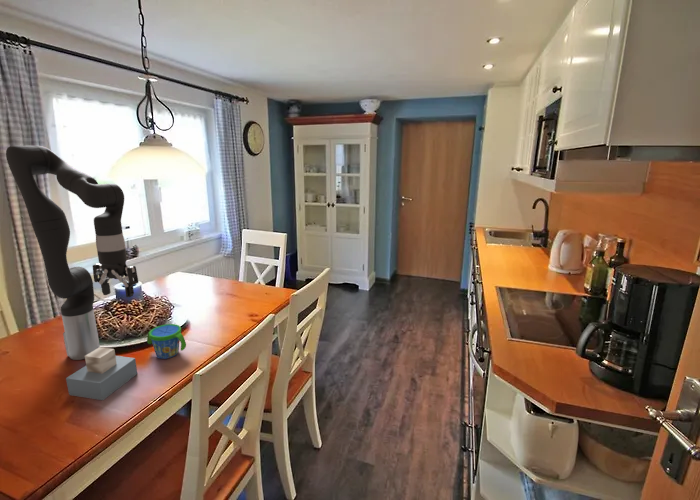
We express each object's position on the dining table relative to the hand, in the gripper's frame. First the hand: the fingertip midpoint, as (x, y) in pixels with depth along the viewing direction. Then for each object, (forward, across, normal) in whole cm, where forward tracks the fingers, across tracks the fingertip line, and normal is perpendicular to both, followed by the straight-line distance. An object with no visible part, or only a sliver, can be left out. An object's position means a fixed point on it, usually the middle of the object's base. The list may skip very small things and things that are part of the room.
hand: (118, 295), depth 114 cm
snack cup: (+28, -6, -12) cm, 31 cm away
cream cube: (+22, +2, +8) cm, 24 cm away
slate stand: (+28, +2, +8) cm, 29 cm away
